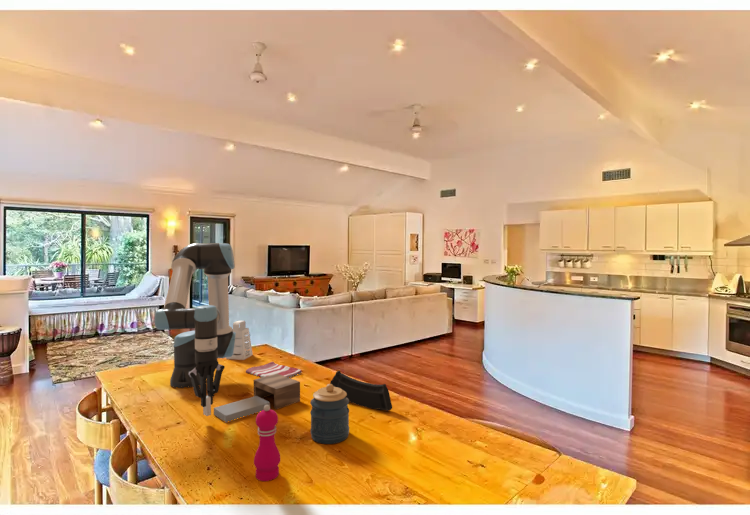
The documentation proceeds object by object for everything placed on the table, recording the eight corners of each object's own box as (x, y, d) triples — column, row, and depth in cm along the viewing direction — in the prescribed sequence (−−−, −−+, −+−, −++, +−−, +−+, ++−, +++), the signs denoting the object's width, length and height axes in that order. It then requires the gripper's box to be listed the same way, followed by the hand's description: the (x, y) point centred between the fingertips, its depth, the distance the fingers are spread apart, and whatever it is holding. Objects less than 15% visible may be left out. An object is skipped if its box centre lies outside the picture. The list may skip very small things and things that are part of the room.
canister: (318, 448, 135) (318, 393, 134) (305, 432, 146) (305, 381, 145) (355, 439, 141) (355, 386, 140) (340, 424, 152) (340, 375, 151)
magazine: (397, 389, 162) (341, 354, 179) (393, 392, 160) (335, 356, 176) (387, 428, 166) (332, 390, 183) (382, 431, 163) (327, 392, 180)
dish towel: (272, 365, 225) (271, 360, 224) (303, 374, 211) (303, 368, 210) (245, 373, 211) (245, 368, 211) (276, 383, 197) (276, 377, 197)
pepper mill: (256, 468, 122) (256, 400, 122) (282, 467, 123) (281, 399, 122) (251, 483, 115) (250, 410, 114) (278, 481, 116) (278, 409, 115)
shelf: (253, 399, 176) (253, 379, 176) (277, 391, 185) (276, 373, 184) (276, 409, 165) (276, 389, 165) (300, 401, 174) (300, 381, 174)
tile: (213, 415, 160) (213, 407, 160) (256, 402, 173) (256, 395, 173) (225, 423, 153) (225, 415, 153) (269, 409, 166) (269, 402, 166)
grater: (252, 354, 244) (252, 320, 243) (243, 359, 234) (243, 323, 233) (235, 353, 246) (235, 319, 245) (226, 358, 236) (225, 322, 235)
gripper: (193, 354, 144) (194, 423, 145) (228, 347, 154) (229, 412, 155) (183, 350, 149) (184, 417, 150) (218, 344, 159) (218, 406, 160)
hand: (207, 414), depth 152 cm, fingers closed
